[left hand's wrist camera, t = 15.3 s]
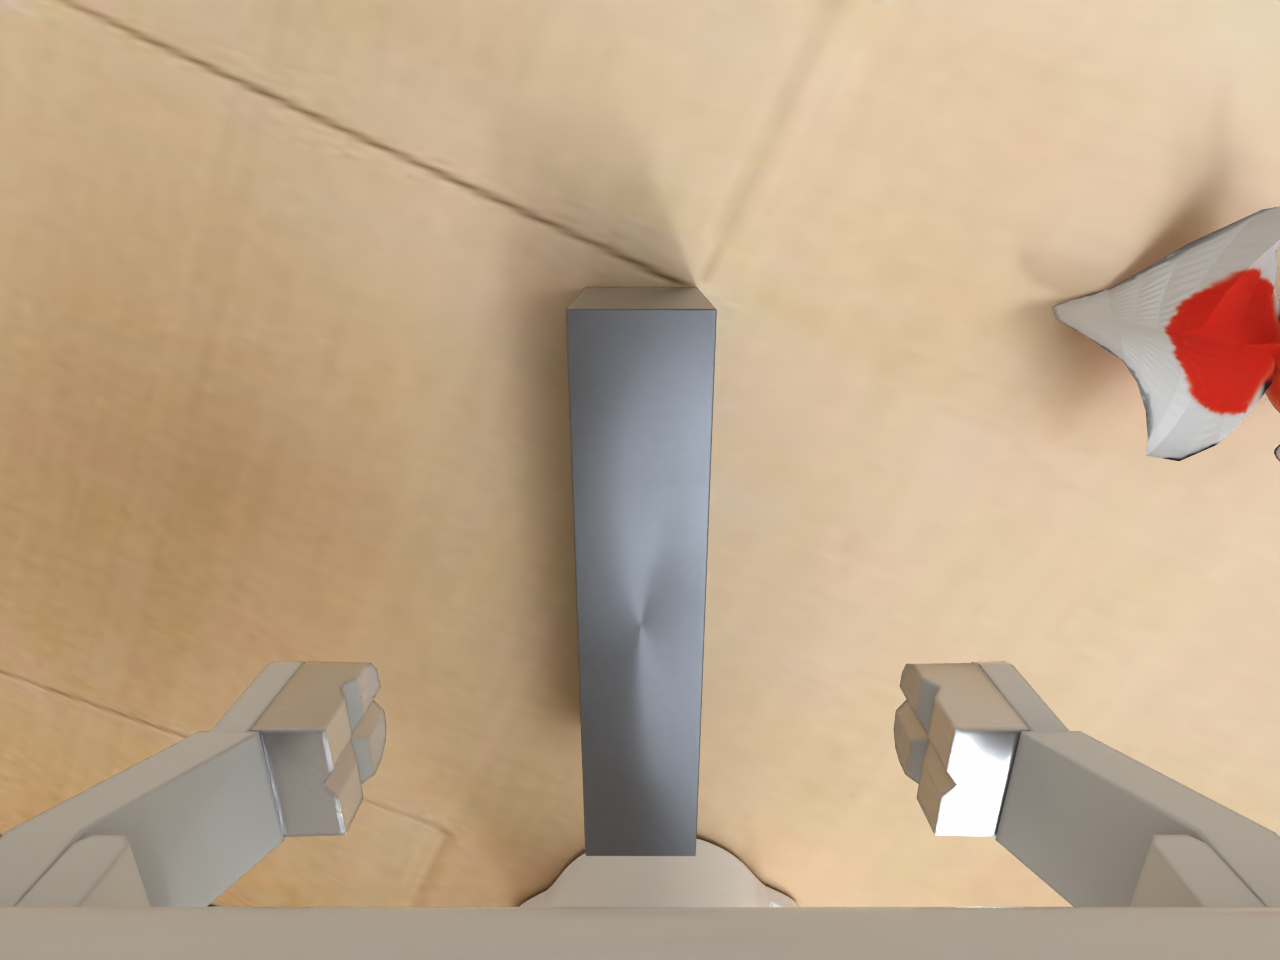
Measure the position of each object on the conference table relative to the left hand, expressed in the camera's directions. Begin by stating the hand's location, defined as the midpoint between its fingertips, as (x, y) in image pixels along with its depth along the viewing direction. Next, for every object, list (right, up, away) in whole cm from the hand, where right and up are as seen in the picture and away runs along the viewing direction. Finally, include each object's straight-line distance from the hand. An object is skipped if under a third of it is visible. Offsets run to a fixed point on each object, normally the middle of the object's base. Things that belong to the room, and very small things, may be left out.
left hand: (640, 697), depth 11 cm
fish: (+26, +10, +23) cm, 36 cm away
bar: (0, 0, +26) cm, 26 cm away
